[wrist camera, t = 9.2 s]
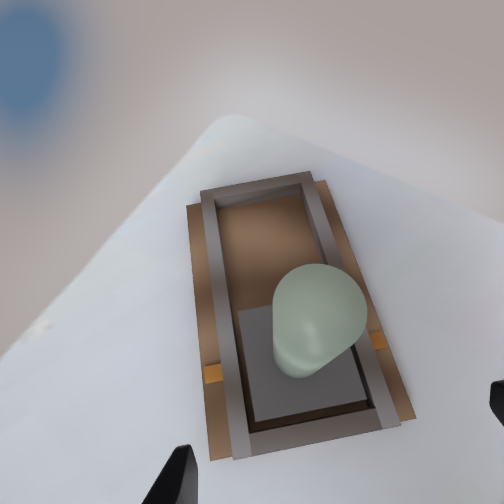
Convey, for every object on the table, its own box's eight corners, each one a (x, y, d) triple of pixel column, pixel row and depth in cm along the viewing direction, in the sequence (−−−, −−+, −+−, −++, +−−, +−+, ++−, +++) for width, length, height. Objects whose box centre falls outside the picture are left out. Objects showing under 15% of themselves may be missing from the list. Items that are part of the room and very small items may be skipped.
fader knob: (357, 399, 17) (465, 395, 8) (257, 420, 17) (236, 442, 7) (327, 302, 20) (378, 207, 10) (240, 319, 20) (209, 239, 10)
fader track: (408, 417, 18) (428, 419, 16) (213, 457, 18) (204, 466, 15) (323, 189, 26) (328, 167, 24) (189, 213, 26) (181, 194, 24)
